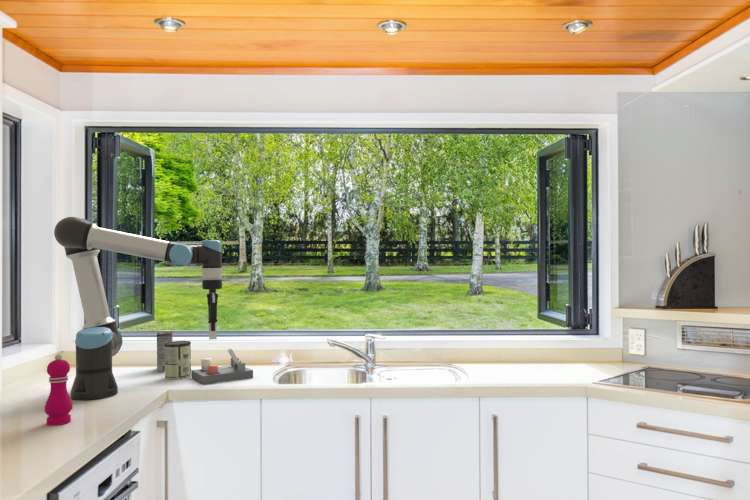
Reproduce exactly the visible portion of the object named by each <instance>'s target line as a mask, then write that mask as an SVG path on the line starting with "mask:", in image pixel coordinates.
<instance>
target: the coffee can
mask: <svg viewBox="0 0 750 500" xmlns="http://www.w3.org/2000/svg"><path fill="white" fill-rule="evenodd" d="M191 344H192V342H191V341H189V340H175V341H174V340H173V342H167V343H164V346H165V371H164V378H165V379H166V380H182V379H183V378H184V379H187V378H190V377H191V370H192V367H191V366H192V361H191V358H192V357H191V354H192V353H191V352H192V351H191Z"/></svg>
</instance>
